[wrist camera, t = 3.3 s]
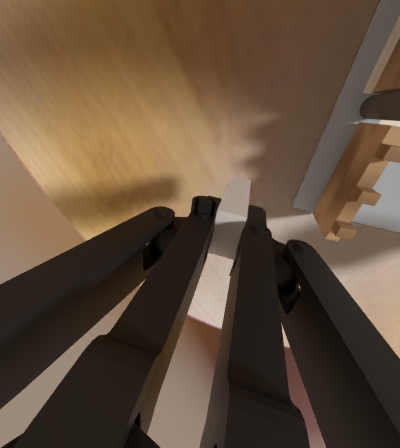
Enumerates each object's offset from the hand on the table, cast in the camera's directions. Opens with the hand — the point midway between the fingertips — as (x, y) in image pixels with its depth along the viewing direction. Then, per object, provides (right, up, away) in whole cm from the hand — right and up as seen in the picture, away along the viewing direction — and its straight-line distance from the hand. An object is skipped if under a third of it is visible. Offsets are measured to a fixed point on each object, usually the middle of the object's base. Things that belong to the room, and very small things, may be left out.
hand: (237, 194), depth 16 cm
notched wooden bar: (+10, +2, +2) cm, 10 cm away
